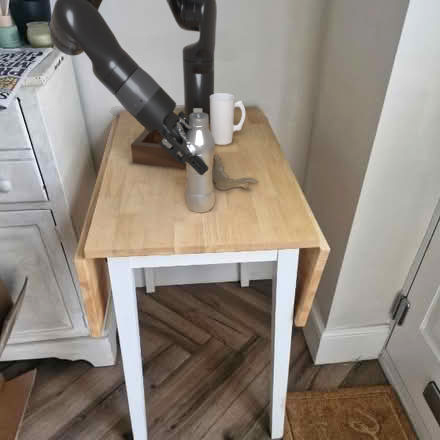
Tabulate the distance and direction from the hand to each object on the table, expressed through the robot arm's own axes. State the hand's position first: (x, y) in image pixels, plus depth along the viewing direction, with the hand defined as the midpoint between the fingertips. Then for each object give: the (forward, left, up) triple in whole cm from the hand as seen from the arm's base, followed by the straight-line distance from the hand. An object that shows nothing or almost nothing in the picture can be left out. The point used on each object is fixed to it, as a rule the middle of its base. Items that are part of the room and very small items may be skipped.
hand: (207, 164), depth 87 cm
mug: (-39, -4, -11) cm, 40 cm away
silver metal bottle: (0, -2, -11) cm, 11 cm away
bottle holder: (-25, -18, -10) cm, 32 cm away
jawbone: (-18, +2, -11) cm, 21 cm away
